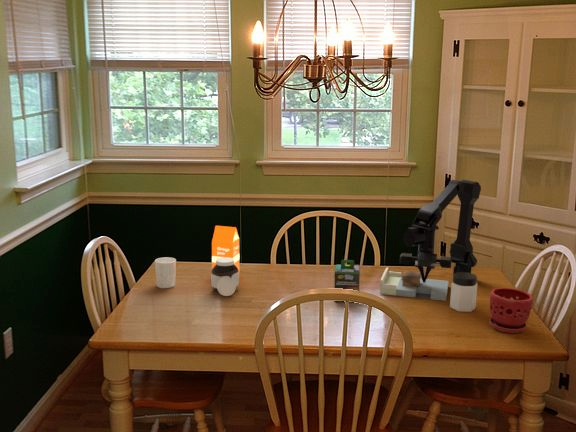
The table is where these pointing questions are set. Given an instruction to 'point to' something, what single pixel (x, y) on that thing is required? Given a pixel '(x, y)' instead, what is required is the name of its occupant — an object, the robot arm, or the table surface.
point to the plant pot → (510, 309)
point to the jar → (463, 292)
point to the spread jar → (225, 276)
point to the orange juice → (225, 244)
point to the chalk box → (347, 275)
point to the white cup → (165, 272)
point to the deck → (427, 290)
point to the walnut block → (411, 279)
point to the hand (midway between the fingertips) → (424, 282)
